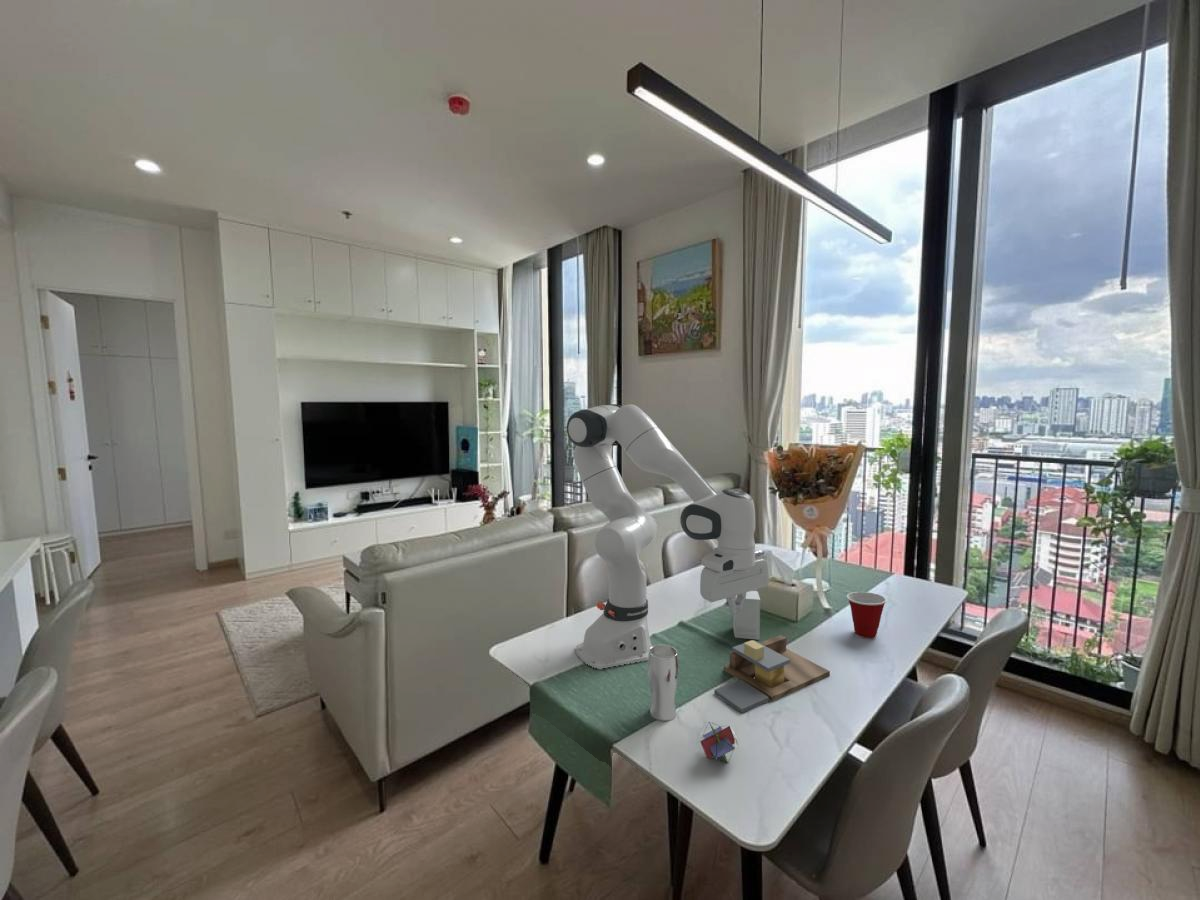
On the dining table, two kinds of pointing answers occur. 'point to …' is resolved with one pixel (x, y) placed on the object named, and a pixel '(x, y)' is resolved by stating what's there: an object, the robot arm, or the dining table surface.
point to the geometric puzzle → (719, 742)
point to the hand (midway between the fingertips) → (735, 610)
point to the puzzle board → (795, 672)
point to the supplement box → (748, 617)
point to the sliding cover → (761, 655)
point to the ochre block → (770, 676)
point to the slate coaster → (741, 696)
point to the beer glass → (663, 681)
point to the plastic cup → (866, 612)
